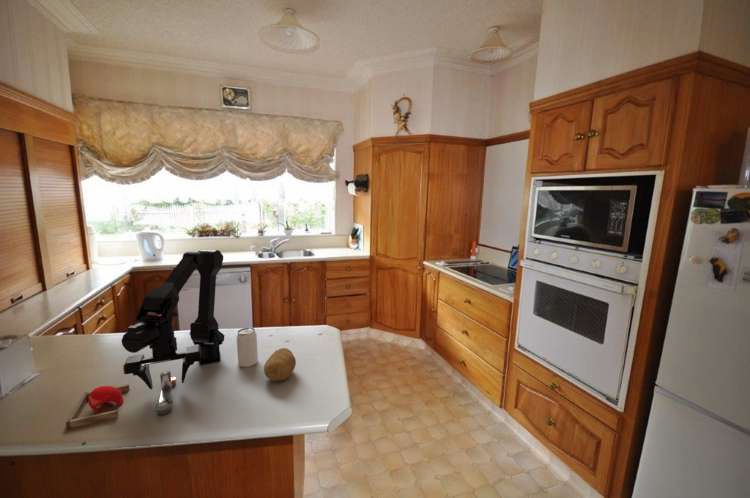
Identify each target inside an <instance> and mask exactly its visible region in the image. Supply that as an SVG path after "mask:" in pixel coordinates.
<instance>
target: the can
mask: <svg viewBox="0 0 750 498" xmlns="http://www.w3.org/2000/svg"><path fill="white" fill-rule="evenodd" d="M257 337H258V336H257V332H256V329H255V328H254V327H244V328H241V329H239V330H238V331H237V335H236V348H237V349H236V350H237V362H238V366H239V367H242V368H249V367H254V366H255V365H256V364H257V363H258V338H257Z"/></svg>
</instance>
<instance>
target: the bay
mask: <svg viewBox="0 0 750 498" xmlns="http://www.w3.org/2000/svg"><path fill="white" fill-rule="evenodd" d="M115 387H116V388H118V389H119V390H120V391H121V393H122V394H123V393H125V392H130V384H122V385H117V386H115ZM90 393H91V391H86V392H84V393H83V395H82V396H81V397H80V399H79V401H78V402H77V404H76V405H75V408H74V409H73V410H72V412H71V413H70V415H69V417H68V419H67V420H66V421H65V426H66V427H65V428H66V430H68V429H73V428H78V427H82V426H86V425H91V424H96V423H100V422H105V421H108V420H113V419H117V418H119V409H115V410H110V411H105V412H101V413H100V412H99V413H95V414H92V415H88V416H83V417H79V415H80V414H81V412H82V410H83V409H84V407H85V405H86V404H87V402H88V398H89V396H90Z"/></svg>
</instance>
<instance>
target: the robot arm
mask: <svg viewBox="0 0 750 498" xmlns="http://www.w3.org/2000/svg"><path fill="white" fill-rule="evenodd" d="M223 262H224V255H223V253H222V252H221V251H220V250H219V249H200V250H198V251H186V252H184V253H183V254H182V257H181V260H179V262H178V263H177V264H176V266H175V267H174V268H173V269H172V271H171V273H170V274H169V275H168V276H167V278H166V279H165V280H164V282H163V283H162V284H161V285H160V284H159V285H158V286H157V287H154V288H153V289H152V290H150V291H149V292H148V293H147V295H146V296H144V297H143V299H142V303H141V305H140V307H139V310H138V313H137V314H136V316H135V319H134V323H135V322H136V324H134V325H129V326H128V327H127V331H126V332H125V333H124V334H123V336H122V338H121V344H122V348H124V350H126V351H127V352H128V353H133V354H135V353H138V352H140V351H142V350H143V349H145V348H147V347H148V346H149V347H148V348H149V350H151V353H152V356H150V357H145V354H144V353H141V354H136V355H129V356H128V358H126V360H125V362H124V364H123V375H133V376H137V377H139V378H140V379H141V380H142V381H143V382H144V384H145V385H146V386H147V387H148V389H150V390H152V389H153V379H152V374H151V370H150V365H154V364H160V363H166V362H171V361H178V360H183V361H182V365H181V366H182V367H181V383H182V384H183V383H185V379H186V376H187V373H188V370H189V369H190V366H193V365H194V364H195V363H197V362H199V365H206V364H212V363H216V362H217V363H218V362H220V361H221V352H220V351H221V349H220V345H223V342H225V334H224V333H222V332H221V331H220V330H219V323H218V321H217V319H216V317H215V305H216V304H215V303H216V287H217V286H216V284H217V283H216V282H217V275H218V273H219V272H220V270H222V268H223ZM196 270H197V272H198V273H199V276H200V277H199V291H198V292H199V293H198V307H197V308H198V309H197V310H198V311H197V316H196V317H197V318H195V320H194V321H193V322H191V323H190V327H189V328H190V332H189V336H190V340H191V341H192V344H193V345H191V346H186V347H185V351H180V352H177V351H178V343H177V337H176V336H175V329H174V328H175V327H174V318H176V317H177V316H178V315H179V313H178V312H176V311H175V309H176V307H177V305H178V303H179V301H180V293H181V290H182V289H183V287H184V286H185V285H186V283H187V282H188V280H189V279H190V277H192V275H193V273H194V272H195V271H196ZM149 314H150V315H149Z"/></svg>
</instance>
